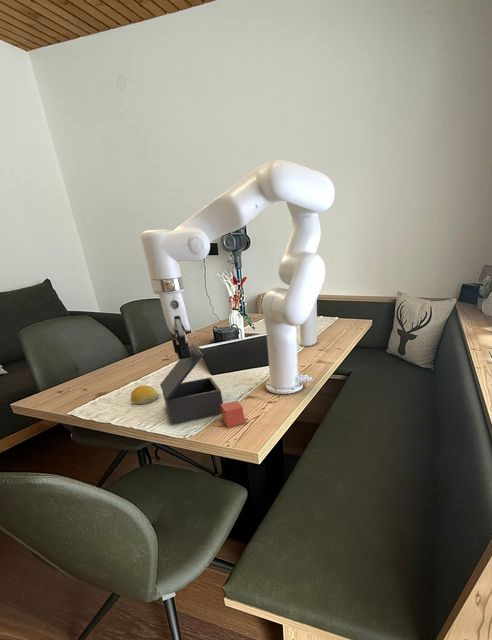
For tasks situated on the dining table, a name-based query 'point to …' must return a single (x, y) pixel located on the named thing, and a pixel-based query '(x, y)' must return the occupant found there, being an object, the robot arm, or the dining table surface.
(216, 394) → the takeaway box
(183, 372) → the lid
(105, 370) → the dining table surface
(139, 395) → the bread roll
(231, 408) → the block
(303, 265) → the robot arm
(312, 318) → the paper towel roll
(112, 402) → the dining table surface
